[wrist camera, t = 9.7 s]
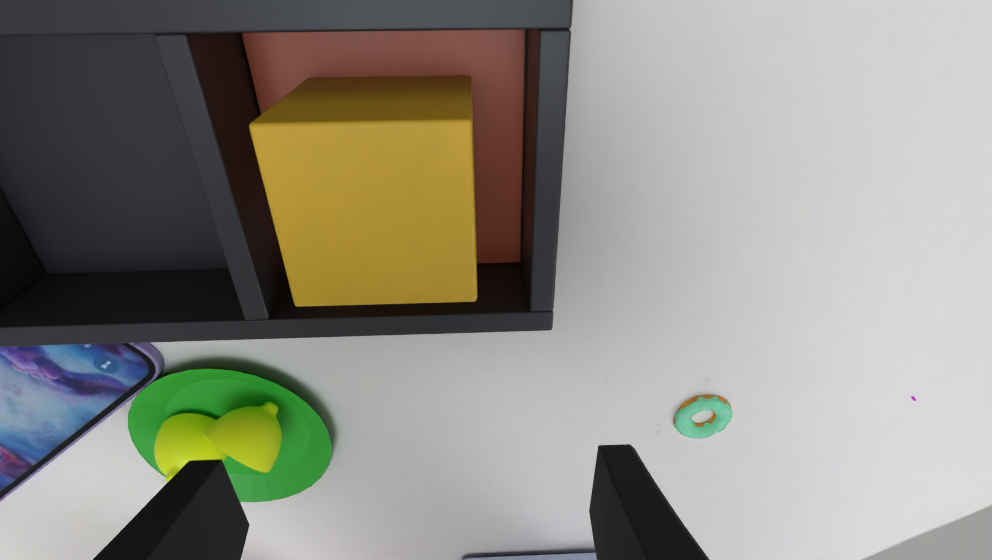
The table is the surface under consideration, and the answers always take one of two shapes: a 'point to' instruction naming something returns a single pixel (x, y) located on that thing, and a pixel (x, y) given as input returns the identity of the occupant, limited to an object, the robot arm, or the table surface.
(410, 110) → the block
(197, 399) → the green plate
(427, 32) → the tray
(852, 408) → the table surface
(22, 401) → the smartphone
